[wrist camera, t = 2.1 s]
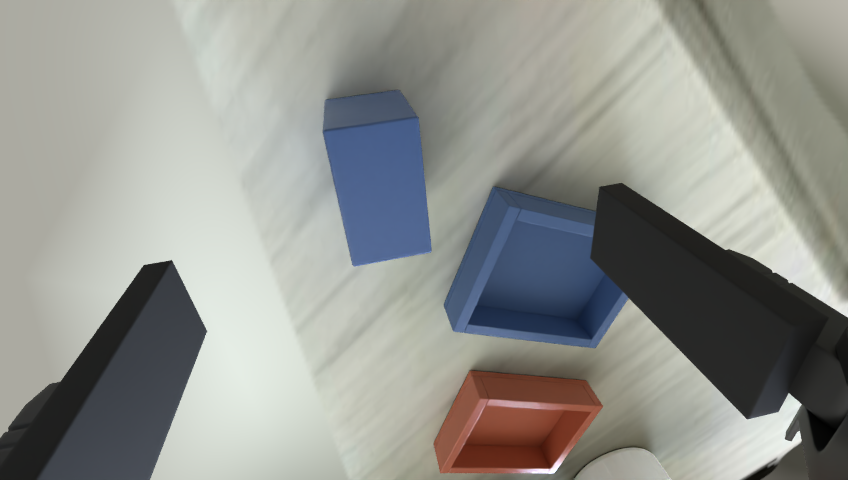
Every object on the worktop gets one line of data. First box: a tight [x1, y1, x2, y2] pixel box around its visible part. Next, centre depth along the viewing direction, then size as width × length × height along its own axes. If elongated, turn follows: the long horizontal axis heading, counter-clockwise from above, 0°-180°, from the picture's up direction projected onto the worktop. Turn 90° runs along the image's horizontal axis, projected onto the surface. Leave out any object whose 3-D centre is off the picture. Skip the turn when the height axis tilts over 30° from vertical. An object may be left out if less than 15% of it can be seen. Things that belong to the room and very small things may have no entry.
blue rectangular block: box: [323, 90, 432, 266], centre depth 19 cm, size 6×4×5 cm, turn 5°
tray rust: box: [434, 370, 603, 473], centre depth 33 cm, size 10×8×2 cm
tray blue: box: [444, 187, 628, 348], centre depth 25 cm, size 10×8×2 cm
